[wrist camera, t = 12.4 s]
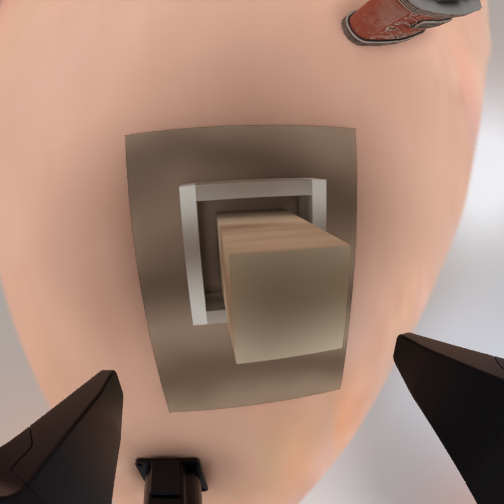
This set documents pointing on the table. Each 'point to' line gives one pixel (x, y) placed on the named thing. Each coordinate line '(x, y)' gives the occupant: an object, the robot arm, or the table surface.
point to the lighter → (401, 19)
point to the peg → (281, 284)
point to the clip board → (206, 250)
